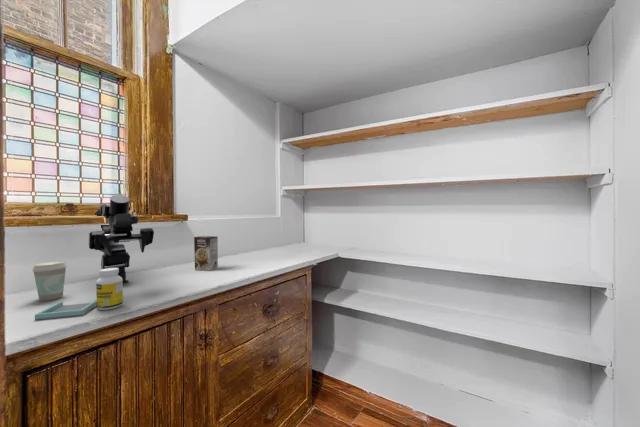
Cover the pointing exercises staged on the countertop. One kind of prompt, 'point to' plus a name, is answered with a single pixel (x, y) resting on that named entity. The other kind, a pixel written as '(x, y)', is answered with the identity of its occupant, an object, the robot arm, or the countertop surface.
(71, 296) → the countertop surface
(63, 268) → the coffee cup
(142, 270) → the countertop surface
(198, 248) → the coffee box
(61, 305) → the dock
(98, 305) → the pill bottle
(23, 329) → the countertop surface
